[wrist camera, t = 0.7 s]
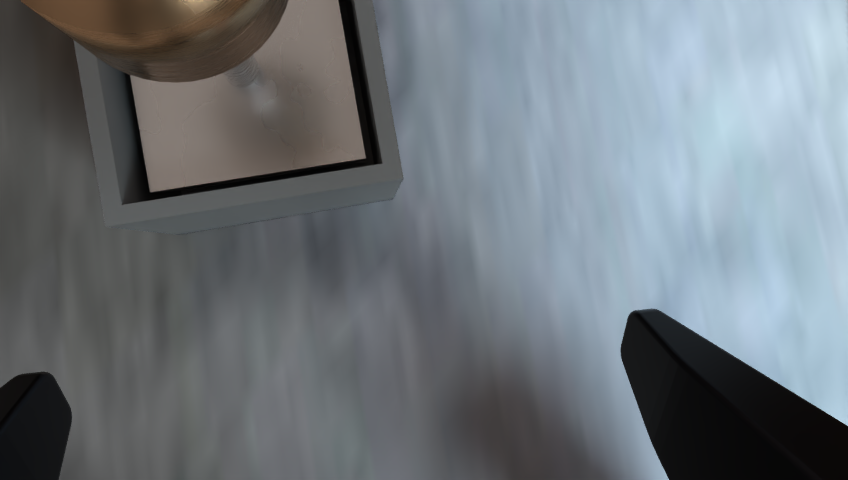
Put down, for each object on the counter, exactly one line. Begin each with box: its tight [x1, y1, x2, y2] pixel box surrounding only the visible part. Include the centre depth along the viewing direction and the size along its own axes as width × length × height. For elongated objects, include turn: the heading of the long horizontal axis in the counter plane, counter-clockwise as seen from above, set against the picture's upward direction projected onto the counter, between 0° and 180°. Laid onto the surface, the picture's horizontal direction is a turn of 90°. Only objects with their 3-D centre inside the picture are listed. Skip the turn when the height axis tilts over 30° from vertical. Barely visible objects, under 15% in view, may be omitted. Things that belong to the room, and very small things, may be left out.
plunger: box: [20, 0, 366, 194], centre depth 13 cm, size 6×6×9 cm
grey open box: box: [74, 0, 403, 235], centre depth 19 cm, size 9×8×6 cm
